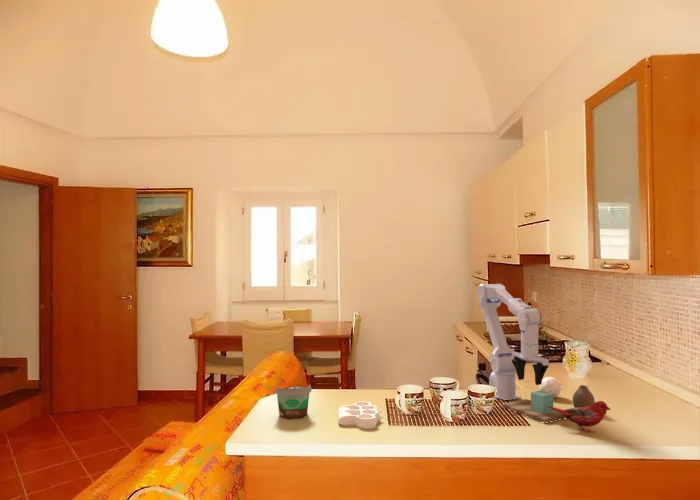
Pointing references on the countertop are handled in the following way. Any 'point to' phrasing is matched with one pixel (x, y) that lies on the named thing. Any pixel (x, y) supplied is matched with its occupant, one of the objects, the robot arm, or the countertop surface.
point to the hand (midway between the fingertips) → (529, 381)
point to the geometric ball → (550, 386)
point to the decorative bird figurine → (585, 414)
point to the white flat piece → (359, 415)
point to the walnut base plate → (525, 409)
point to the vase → (582, 397)
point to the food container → (293, 401)
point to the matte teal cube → (541, 402)
